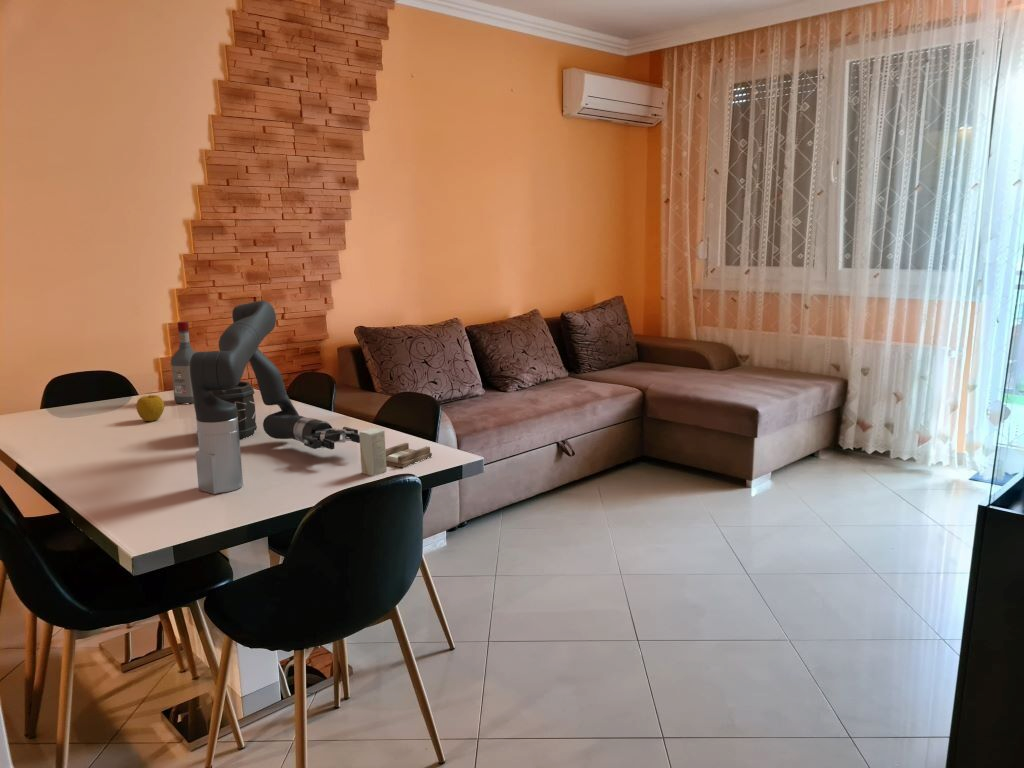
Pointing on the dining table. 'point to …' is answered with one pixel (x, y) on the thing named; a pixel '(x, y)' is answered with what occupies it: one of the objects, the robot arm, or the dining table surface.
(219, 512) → the dining table surface
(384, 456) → the box
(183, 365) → the liquor
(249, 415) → the dark ribbed cylinder
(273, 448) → the dining table surface
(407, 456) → the shallow brown tray
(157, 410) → the apple
